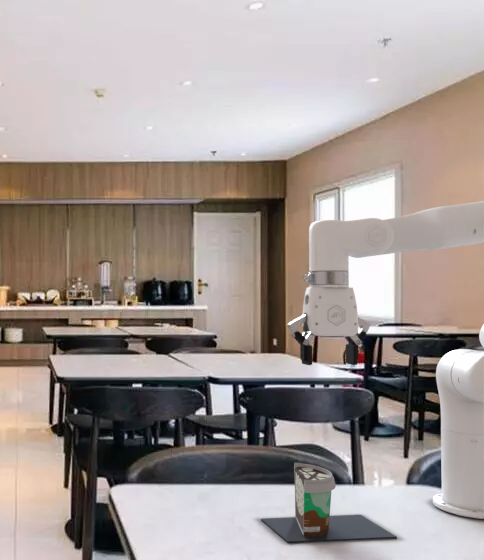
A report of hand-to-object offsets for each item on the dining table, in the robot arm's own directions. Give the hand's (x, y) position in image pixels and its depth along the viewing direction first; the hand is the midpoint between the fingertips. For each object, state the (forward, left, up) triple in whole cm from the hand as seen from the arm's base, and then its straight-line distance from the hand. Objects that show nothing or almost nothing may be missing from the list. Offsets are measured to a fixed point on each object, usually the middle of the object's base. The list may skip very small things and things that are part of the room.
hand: (329, 364), depth 127 cm
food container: (+10, +13, -28) cm, 33 cm away
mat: (+8, +13, -28) cm, 32 cm away
